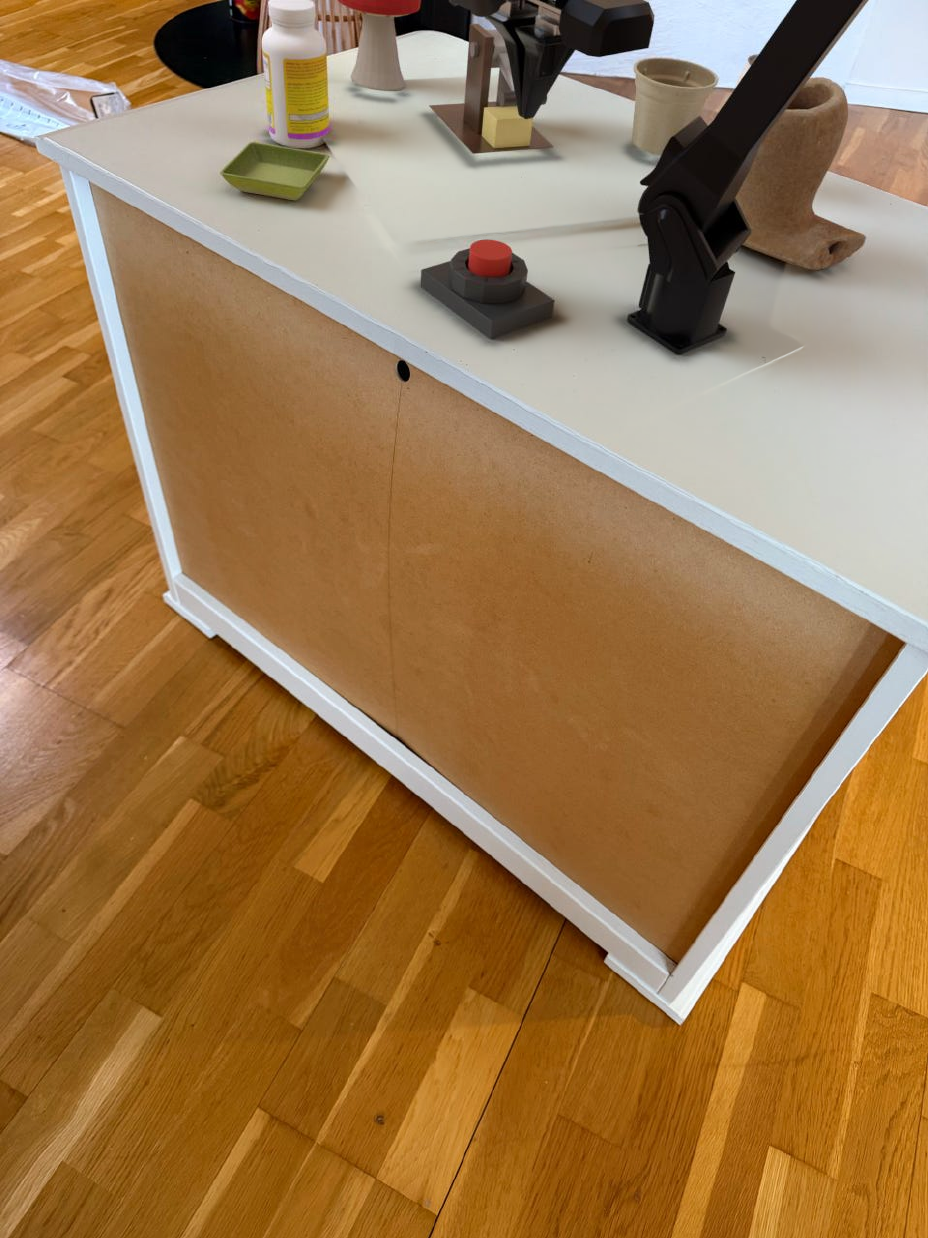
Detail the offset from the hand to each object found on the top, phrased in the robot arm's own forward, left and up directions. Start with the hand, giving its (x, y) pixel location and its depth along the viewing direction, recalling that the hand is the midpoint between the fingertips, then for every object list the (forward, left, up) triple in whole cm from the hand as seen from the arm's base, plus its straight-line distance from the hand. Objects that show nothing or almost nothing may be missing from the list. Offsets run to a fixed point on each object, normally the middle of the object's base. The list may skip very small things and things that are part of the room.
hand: (526, 117), depth 74 cm
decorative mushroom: (+42, -14, -13) cm, 46 cm away
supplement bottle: (+34, +2, -13) cm, 37 cm away
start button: (-4, +6, -10) cm, 12 cm away
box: (-4, +6, -13) cm, 15 cm away
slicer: (+25, -18, -13) cm, 33 cm away
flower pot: (+12, -33, -13) cm, 38 cm away
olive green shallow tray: (+25, +10, -13) cm, 30 cm away
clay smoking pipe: (-10, -26, -13) cm, 31 cm away
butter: (+21, -17, -12) cm, 29 cm away
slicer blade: (+22, -17, -6) cm, 29 cm away
